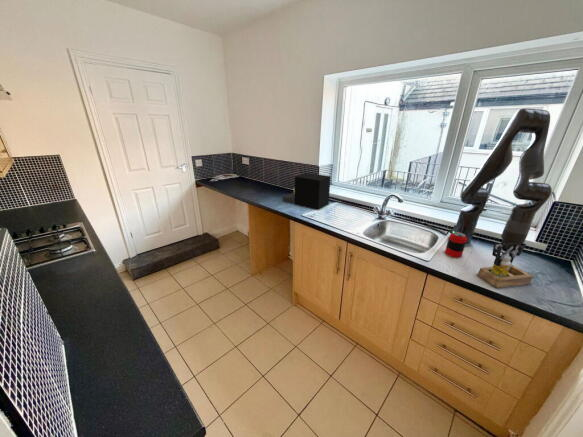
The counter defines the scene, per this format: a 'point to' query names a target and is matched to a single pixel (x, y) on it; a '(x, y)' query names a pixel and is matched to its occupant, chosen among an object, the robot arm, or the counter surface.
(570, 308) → the counter surface
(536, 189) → the robot arm
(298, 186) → the black squarish block
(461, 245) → the soda can
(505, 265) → the supplement bottle
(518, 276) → the holder
